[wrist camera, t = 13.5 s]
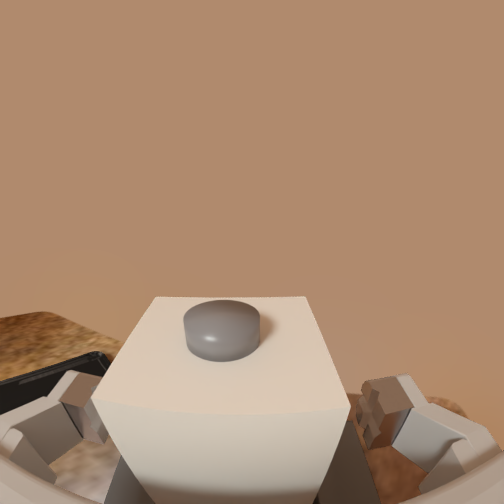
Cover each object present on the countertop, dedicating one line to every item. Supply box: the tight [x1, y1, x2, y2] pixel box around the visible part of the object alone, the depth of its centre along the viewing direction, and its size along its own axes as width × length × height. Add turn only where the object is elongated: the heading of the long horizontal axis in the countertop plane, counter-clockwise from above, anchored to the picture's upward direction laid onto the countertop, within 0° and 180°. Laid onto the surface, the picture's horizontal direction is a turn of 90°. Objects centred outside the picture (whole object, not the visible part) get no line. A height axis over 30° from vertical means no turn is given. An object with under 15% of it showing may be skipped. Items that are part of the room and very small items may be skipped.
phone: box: [0, 351, 111, 415], centre depth 15 cm, size 8×1×15 cm
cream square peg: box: [91, 296, 351, 504], centre depth 7 cm, size 4×4×12 cm
